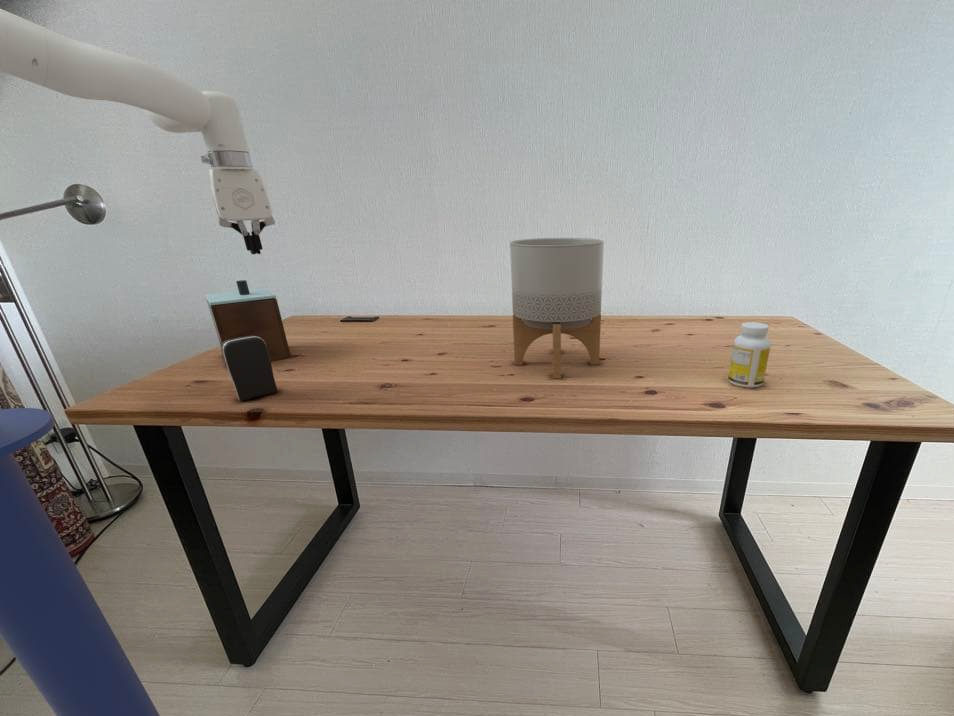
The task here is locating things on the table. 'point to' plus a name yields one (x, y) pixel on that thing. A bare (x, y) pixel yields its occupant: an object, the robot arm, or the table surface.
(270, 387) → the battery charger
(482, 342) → the table surface
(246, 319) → the brown wooden box
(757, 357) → the pill bottle
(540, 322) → the planter
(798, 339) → the table surface
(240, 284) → the lid
